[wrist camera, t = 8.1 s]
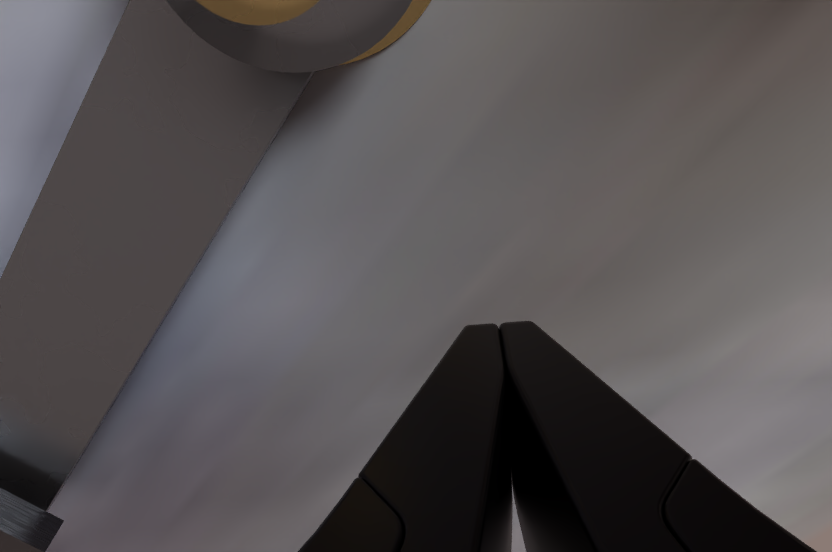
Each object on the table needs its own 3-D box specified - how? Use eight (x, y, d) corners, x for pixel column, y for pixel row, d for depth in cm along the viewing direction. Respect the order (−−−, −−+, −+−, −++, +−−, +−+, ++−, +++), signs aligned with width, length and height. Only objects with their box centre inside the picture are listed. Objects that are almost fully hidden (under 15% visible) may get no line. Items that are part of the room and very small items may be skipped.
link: (254, -306, 15) (216, -349, 12) (484, -121, 16) (493, -126, 14) (-80, 429, 25) (-141, 491, 22) (84, 505, 26) (46, 572, 23)
